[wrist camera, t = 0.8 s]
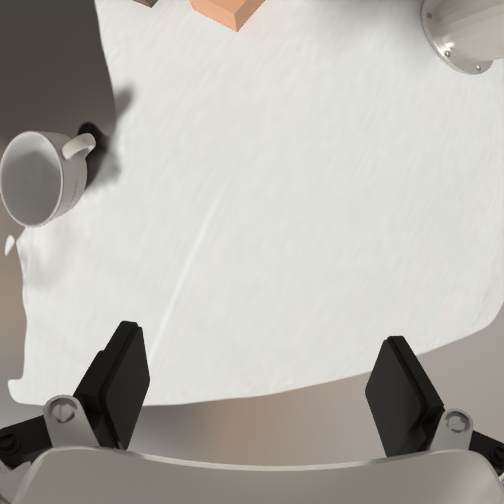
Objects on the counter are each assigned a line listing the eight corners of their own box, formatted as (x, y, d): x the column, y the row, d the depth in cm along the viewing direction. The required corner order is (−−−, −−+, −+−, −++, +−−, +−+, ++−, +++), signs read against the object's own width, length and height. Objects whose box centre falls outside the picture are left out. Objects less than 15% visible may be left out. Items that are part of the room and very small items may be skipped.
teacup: (45, 219, 37) (11, 238, 29) (26, 146, 33) (-12, 152, 25) (128, 190, 36) (99, 206, 28) (107, 106, 32) (73, 102, 24)
